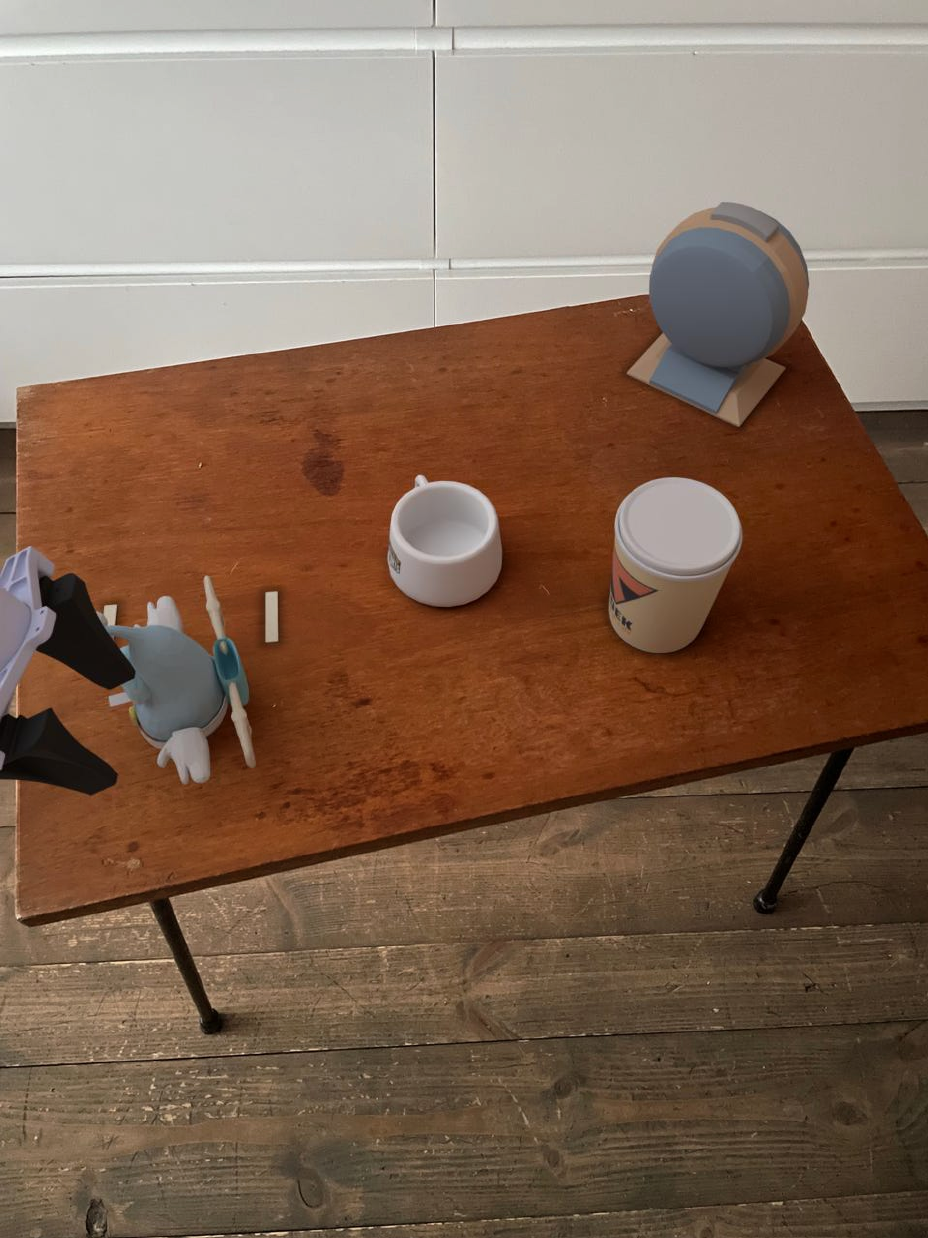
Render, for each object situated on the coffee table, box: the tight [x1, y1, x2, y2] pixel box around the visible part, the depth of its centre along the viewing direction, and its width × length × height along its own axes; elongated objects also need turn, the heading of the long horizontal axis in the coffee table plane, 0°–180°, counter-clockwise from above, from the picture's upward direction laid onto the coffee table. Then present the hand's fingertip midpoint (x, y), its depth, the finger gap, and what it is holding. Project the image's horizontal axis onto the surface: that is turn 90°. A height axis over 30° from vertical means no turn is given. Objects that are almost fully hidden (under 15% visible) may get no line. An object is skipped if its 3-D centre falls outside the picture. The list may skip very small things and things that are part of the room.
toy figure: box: [95, 574, 257, 786], centre depth 75 cm, size 17×10×15 cm, turn 18°
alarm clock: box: [626, 201, 810, 428], centre depth 97 cm, size 14×10×18 cm
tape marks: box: [103, 591, 279, 644], centre depth 87 cm, size 14×5×1 cm, turn 96°
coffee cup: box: [608, 476, 743, 654], centre depth 82 cm, size 9×9×12 cm
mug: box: [387, 474, 503, 608], centre depth 88 cm, size 12×10×6 cm
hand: (113, 730), depth 63 cm, fingers open, 7 cm apart
